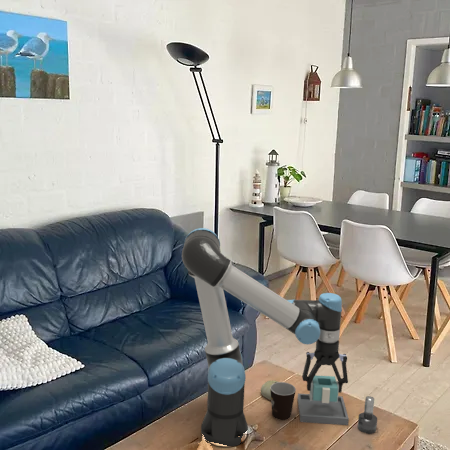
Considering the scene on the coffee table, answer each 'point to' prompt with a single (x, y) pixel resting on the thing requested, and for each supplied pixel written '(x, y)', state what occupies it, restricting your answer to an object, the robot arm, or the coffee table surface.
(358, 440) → the coffee table surface
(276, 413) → the coffee mug
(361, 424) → the cylinder
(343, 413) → the tray
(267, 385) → the sea urchin shell
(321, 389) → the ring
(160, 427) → the coffee table surface
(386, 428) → the coffee table surface
